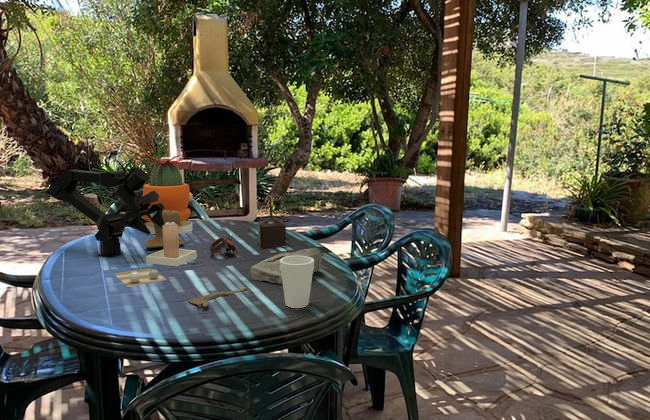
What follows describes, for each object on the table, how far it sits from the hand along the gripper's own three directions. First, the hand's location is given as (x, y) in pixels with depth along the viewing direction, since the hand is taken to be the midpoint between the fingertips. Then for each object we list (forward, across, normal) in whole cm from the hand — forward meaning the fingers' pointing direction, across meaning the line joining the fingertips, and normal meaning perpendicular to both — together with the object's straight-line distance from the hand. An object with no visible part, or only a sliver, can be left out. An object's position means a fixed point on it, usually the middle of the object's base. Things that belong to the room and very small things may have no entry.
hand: (157, 231), depth 181 cm
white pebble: (+14, -25, 0) cm, 29 cm away
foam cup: (+52, -26, -38) cm, 70 cm away
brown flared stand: (+1, +18, +15) cm, 24 cm away
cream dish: (+12, 0, +3) cm, 12 cm away
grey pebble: (+16, -20, -2) cm, 26 cm away
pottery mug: (+22, +14, -6) cm, 26 cm away
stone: (+44, -2, -29) cm, 52 cm away
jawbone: (+38, -28, -22) cm, 52 cm away
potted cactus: (-9, +41, +25) cm, 49 cm away
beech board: (+13, -20, +2) cm, 24 cm away
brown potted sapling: (+28, +37, -13) cm, 48 cm away
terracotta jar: (+11, 0, +3) cm, 11 cm away
